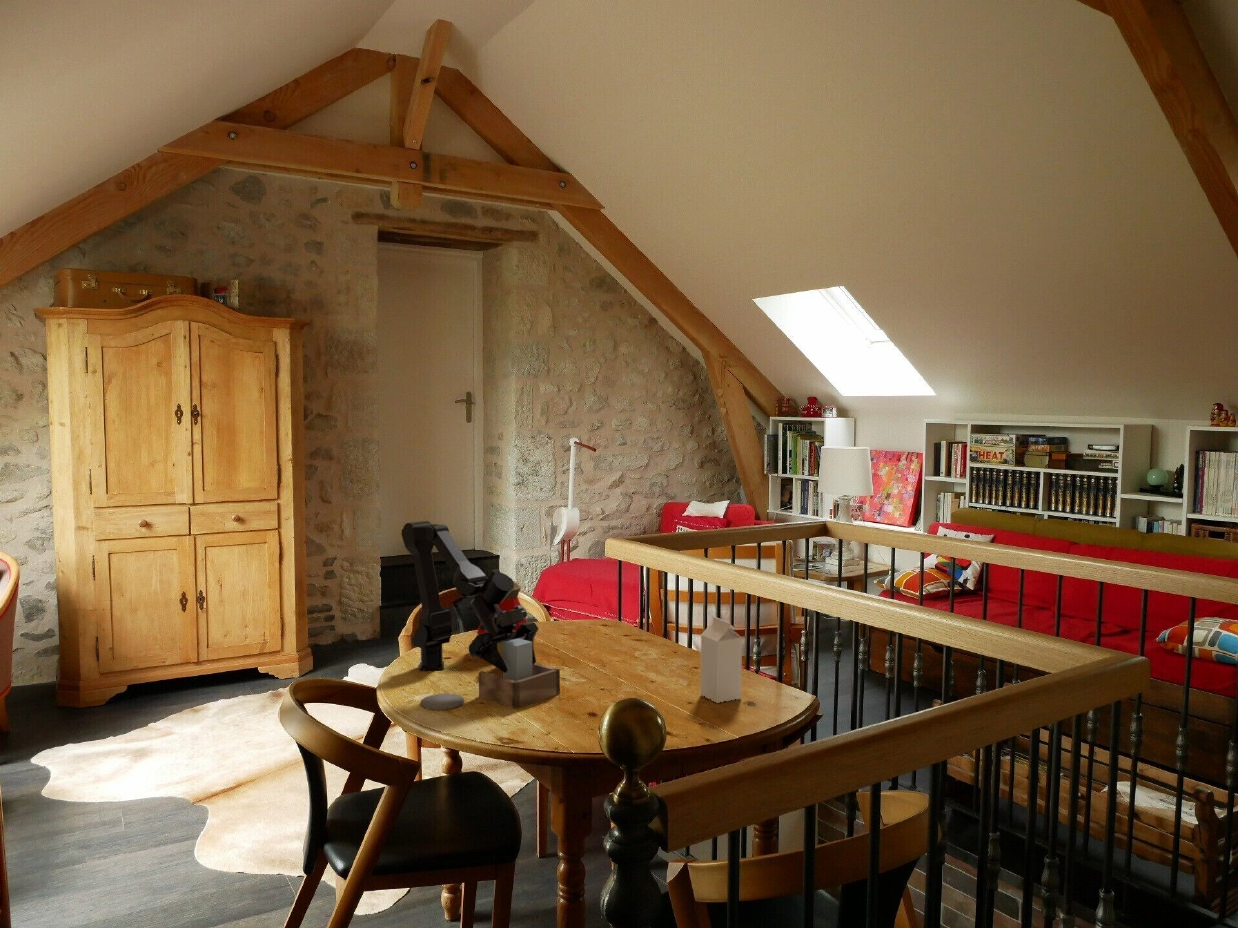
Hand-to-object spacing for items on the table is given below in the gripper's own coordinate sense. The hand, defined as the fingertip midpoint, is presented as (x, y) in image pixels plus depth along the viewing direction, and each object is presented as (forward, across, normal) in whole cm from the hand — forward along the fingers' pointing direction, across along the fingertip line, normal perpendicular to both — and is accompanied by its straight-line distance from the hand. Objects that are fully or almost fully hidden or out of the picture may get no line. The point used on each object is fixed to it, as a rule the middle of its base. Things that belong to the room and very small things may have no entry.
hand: (520, 667), depth 218 cm
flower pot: (-8, +14, +18) cm, 24 cm away
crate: (+4, 0, +6) cm, 7 cm away
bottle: (-18, +23, +28) cm, 41 cm away
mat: (-2, -16, +12) cm, 20 cm away
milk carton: (+31, +31, -21) cm, 49 cm away
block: (+4, 0, +6) cm, 7 cm away
